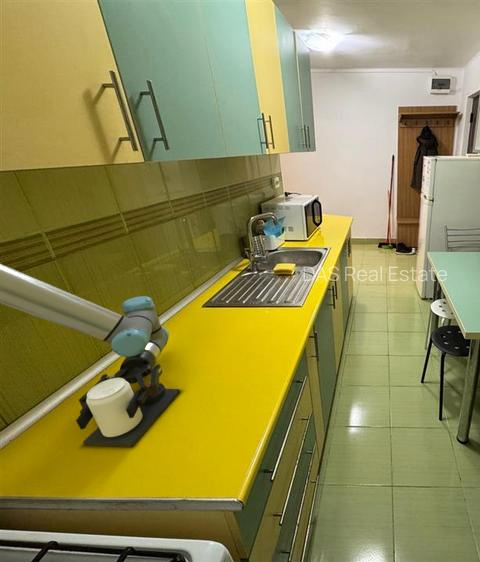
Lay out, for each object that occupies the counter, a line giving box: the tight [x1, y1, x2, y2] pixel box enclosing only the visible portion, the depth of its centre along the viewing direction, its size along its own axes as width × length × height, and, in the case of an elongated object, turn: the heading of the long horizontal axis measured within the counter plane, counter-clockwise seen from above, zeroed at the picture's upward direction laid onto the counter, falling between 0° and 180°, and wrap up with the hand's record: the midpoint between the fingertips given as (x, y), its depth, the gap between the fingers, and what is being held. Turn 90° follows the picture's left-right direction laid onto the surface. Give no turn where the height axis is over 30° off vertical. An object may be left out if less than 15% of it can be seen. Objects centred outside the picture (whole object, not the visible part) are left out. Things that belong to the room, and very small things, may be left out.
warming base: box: [82, 382, 181, 448], centre depth 80 cm, size 18×12×3 cm, turn 178°
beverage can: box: [86, 378, 142, 437], centre depth 74 cm, size 8×8×12 cm
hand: (105, 419), depth 70 cm, fingers open, 9 cm apart
